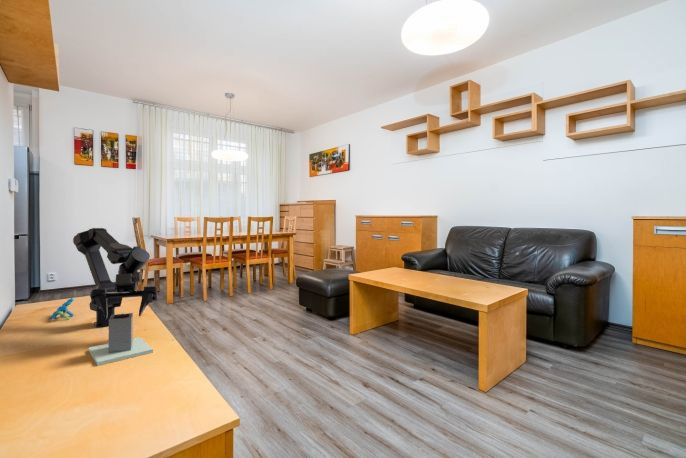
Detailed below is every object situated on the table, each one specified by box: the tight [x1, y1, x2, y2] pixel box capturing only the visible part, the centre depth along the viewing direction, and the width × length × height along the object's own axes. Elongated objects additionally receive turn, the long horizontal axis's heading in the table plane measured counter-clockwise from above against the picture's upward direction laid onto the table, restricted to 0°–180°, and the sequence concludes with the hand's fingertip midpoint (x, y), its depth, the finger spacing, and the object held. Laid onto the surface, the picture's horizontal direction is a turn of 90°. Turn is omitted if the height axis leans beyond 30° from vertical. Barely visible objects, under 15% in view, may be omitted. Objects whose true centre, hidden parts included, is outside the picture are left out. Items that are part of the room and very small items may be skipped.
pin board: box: [88, 336, 154, 367], centre depth 102 cm, size 14×14×5 cm
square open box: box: [108, 312, 134, 353], centre depth 102 cm, size 6×6×10 cm
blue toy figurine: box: [49, 297, 75, 320], centre depth 133 cm, size 11×6×10 cm
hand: (123, 317), depth 108 cm, fingers open, 9 cm apart
